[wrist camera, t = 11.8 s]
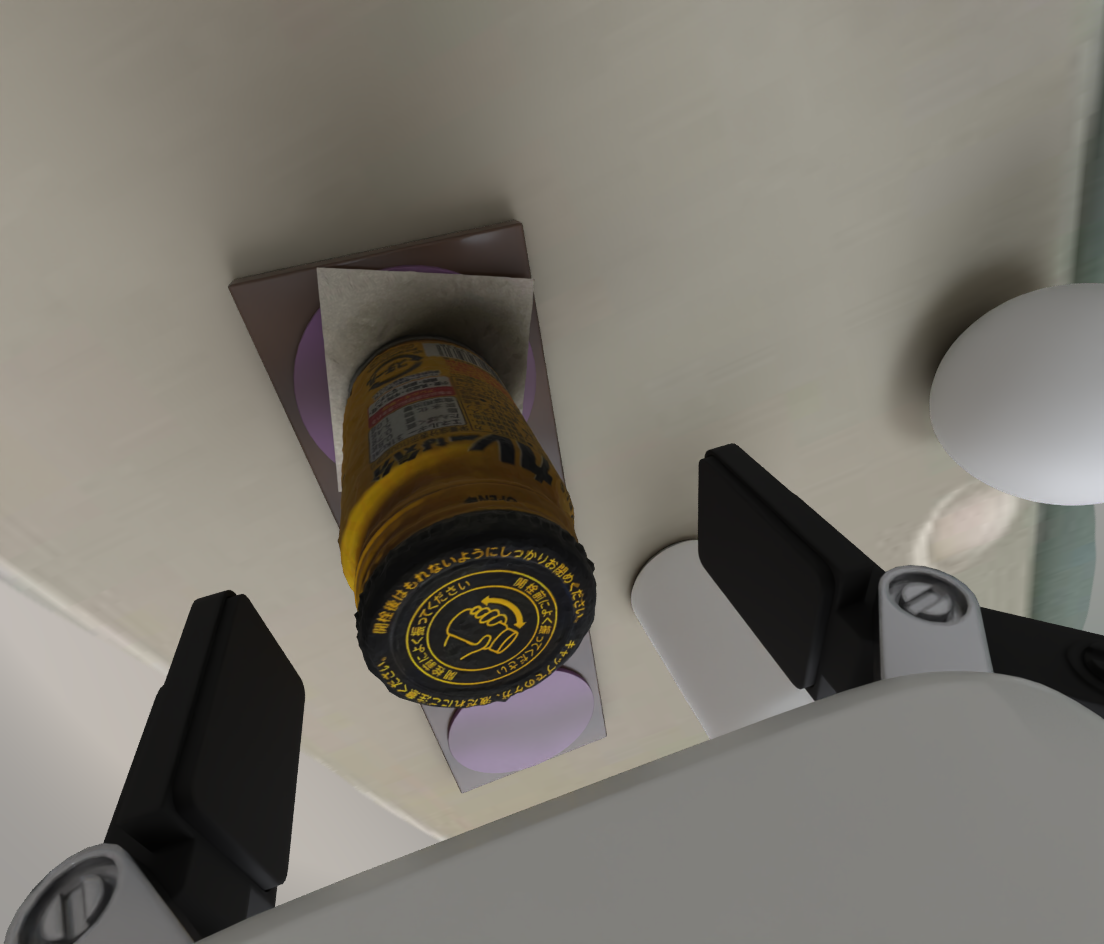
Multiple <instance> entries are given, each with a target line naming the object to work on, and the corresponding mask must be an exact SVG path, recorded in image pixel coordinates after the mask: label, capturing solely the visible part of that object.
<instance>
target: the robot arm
mask: <svg viewBox="0 0 1104 944" xmlns="http://www.w3.org/2000/svg"><path fill="white" fill-rule="evenodd" d="M698 555H699V559H700V562H701V564H702V566H703V567H704V569H705V570H706V571H707V573H708V574H709V575H710V577H711V578H712V579H713V580H714V582H715V583H716V584H717V586H718V587H719V588H720V590H721V591H722V592H723V594H724V595H725V596H726V598H727V599H728V600H729V601H730V603H731V604H732V605H733V607H734V608H735V609H736V611H737V612H738V613H739V615H740V616H741V617H742V618H743V620H744V621H745V622H746V624H747V625H748V626H749V628H750V629H751V630H752V632H753V633H754V634H755V635H756V637H757V638H758V639H759V641H760V642H761V643H762V645H763V646H764V647H765V649H766V650H767V651H768V652H769V654H770V655H771V656H772V658H773V659H774V660H775V662H776V663H777V664H778V666H779V667H780V668H781V670H782V671H783V672H784V673H785V675H786V676H787V677H788V679H789V680H790V681H791V683H792V684H793V685H794V686H795V687H796V688H798V689H804V688H805V690H806V691H807V692H808V693H809V695H810V696H811V697H812V699H813V700H814V701H815V702H812V703H809V704H806V705H803V706H800V707H798V708H795V709H792V710H789V711H786V712H783V713H781V714H778V715H775V716H772V717H769V718H767V719H764V720H761V721H759V722H756V723H753V724H751V725H748V726H745V727H743V728H740V729H737V730H735V731H732V732H729V733H727V734H724V735H721V736H719V737H716V738H713V739H711V740H708V741H705V742H702V743H700V744H697V745H694V746H692V747H689V748H686V749H684V750H681V751H678V752H676V753H673V754H670V755H668V756H665V757H662V758H660V759H657V760H654V761H652V762H649V763H646V764H644V765H641V766H638V767H636V768H633V769H631V770H628V771H625V772H623V773H620V774H617V775H615V776H612V777H609V778H607V779H604V780H601V781H599V782H596V783H594V784H591V785H588V786H586V787H583V788H580V789H578V790H575V791H572V792H570V793H567V794H565V795H562V796H559V797H557V798H554V799H551V800H549V801H546V802H544V803H541V804H538V805H536V806H533V807H530V808H528V809H525V810H523V811H520V812H517V813H515V814H512V815H509V816H507V817H504V818H502V819H499V820H496V821H494V822H491V823H488V824H486V825H483V826H481V827H478V828H475V829H473V830H470V831H468V832H465V833H462V834H460V835H457V836H455V837H452V838H450V839H447V840H444V841H442V842H439V843H437V844H434V845H431V846H429V847H426V848H424V849H421V850H418V851H416V852H413V853H411V854H408V855H405V856H403V857H400V858H398V859H395V860H392V861H390V862H387V863H385V864H382V865H380V866H377V867H374V868H372V869H369V870H367V871H364V872H361V873H359V874H356V875H354V876H351V877H348V878H346V879H343V880H341V881H339V882H336V883H334V884H331V885H329V886H326V887H324V888H321V889H319V890H316V891H314V892H311V893H309V894H307V895H304V896H301V897H299V898H296V899H294V900H292V901H289V902H287V903H284V904H282V905H279V906H277V907H275V901H276V892H277V886H278V885H280V884H283V883H284V881H285V880H286V876H287V872H288V864H289V863H288V862H289V854H290V844H291V834H292V823H293V813H294V803H295V793H296V783H297V773H298V763H299V753H300V743H301V733H302V723H303V713H304V703H305V690H304V685H303V682H302V680H301V678H300V677H299V675H298V673H297V672H296V670H295V669H294V667H293V666H292V664H291V663H290V661H289V660H288V658H287V657H286V655H285V654H284V652H283V651H282V649H281V647H280V646H279V644H278V643H277V641H276V640H275V638H274V637H273V635H272V634H271V632H270V631H269V629H268V628H267V626H266V625H265V623H264V621H263V620H262V618H261V617H260V615H259V614H258V612H257V611H256V609H255V608H254V606H253V605H252V603H251V602H250V600H249V599H248V597H247V596H246V595H244V594H240V595H236V594H235V593H234V592H233V591H231V590H226V591H223V592H219V593H216V594H213V595H209V596H206V597H202V598H199V599H197V600H195V601H194V603H193V604H192V607H191V610H190V612H189V615H188V618H187V621H186V624H185V627H184V629H183V632H182V635H181V638H180V641H179V644H178V647H177V649H176V652H175V655H174V658H173V661H172V664H171V666H170V669H169V672H168V675H167V678H166V681H165V683H164V685H163V686H162V687H161V688H160V690H159V692H158V694H157V695H156V698H155V701H154V704H153V706H152V709H151V712H150V715H149V717H148V720H147V723H146V726H145V728H144V732H143V734H142V737H141V740H140V742H139V745H138V748H137V751H136V754H135V756H134V759H133V762H132V765H131V768H130V770H129V773H128V776H127V779H126V782H125V784H124V787H123V790H122V793H121V795H120V798H119V801H118V804H117V807H116V810H115V812H114V815H113V818H112V821H111V823H110V826H109V829H108V832H107V835H106V837H105V840H104V843H103V844H99V845H95V846H92V847H88V848H86V849H84V850H82V851H80V852H78V853H76V854H74V855H73V856H71V857H69V858H67V859H66V860H65V861H64V862H62V863H61V864H60V865H58V866H57V867H56V868H54V869H53V870H52V871H50V872H49V874H47V875H46V876H45V877H44V879H43V880H41V882H39V883H38V885H37V886H36V887H35V888H34V889H33V890H32V891H31V892H30V894H29V895H28V896H27V898H26V899H25V900H24V902H23V903H22V905H21V906H20V907H19V909H18V910H17V912H16V914H15V916H14V918H13V920H12V922H11V924H10V926H9V928H8V930H7V933H6V937H5V941H4V944H1104V636H1103V635H1099V634H1095V633H1090V632H1086V631H1082V630H1077V629H1073V628H1069V627H1065V626H1060V625H1056V624H1052V623H1047V622H1043V621H1039V620H1034V619H1030V618H1026V617H1022V616H1017V615H1013V614H1009V613H1004V612H1000V611H996V610H991V609H987V608H983V607H980V605H979V603H978V601H977V598H976V596H975V594H974V593H973V592H972V591H971V590H970V589H969V588H968V587H967V586H966V585H965V584H964V583H962V582H961V581H959V580H958V579H956V578H955V577H954V576H951V575H949V574H947V573H945V572H942V571H940V570H937V569H933V568H929V567H925V566H914V565H907V566H900V567H895V568H893V569H891V570H889V571H887V572H885V571H884V570H883V569H881V568H880V567H879V566H878V565H877V564H876V563H874V562H873V561H872V560H871V559H870V558H869V557H867V556H866V555H865V554H864V553H863V552H862V551H861V550H859V549H858V548H857V547H856V546H855V545H854V544H852V543H851V542H850V541H849V540H848V539H847V538H845V537H844V536H843V535H842V534H841V533H840V532H838V531H837V530H836V529H835V528H834V527H833V526H832V525H830V524H829V523H828V522H827V521H826V520H825V519H823V518H822V517H821V516H820V515H819V514H818V513H816V512H815V511H814V510H813V509H812V508H811V507H809V506H808V505H807V504H806V503H805V502H804V501H803V500H801V499H800V498H799V497H798V496H797V495H795V494H794V493H792V492H791V491H790V490H788V489H787V488H786V487H785V486H784V485H783V484H782V483H780V482H779V481H778V480H777V479H776V478H775V477H773V476H772V475H771V474H770V473H769V472H768V471H766V470H765V469H764V468H763V467H762V466H761V465H760V464H758V463H757V462H756V461H755V460H754V459H753V458H751V457H750V456H749V455H748V454H747V453H746V452H745V451H743V450H742V449H741V448H740V447H739V446H737V445H736V444H733V443H731V444H728V445H724V446H721V447H717V448H714V449H710V450H708V451H707V452H706V454H705V458H704V459H701V460H700V462H699V487H698Z"/></svg>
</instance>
